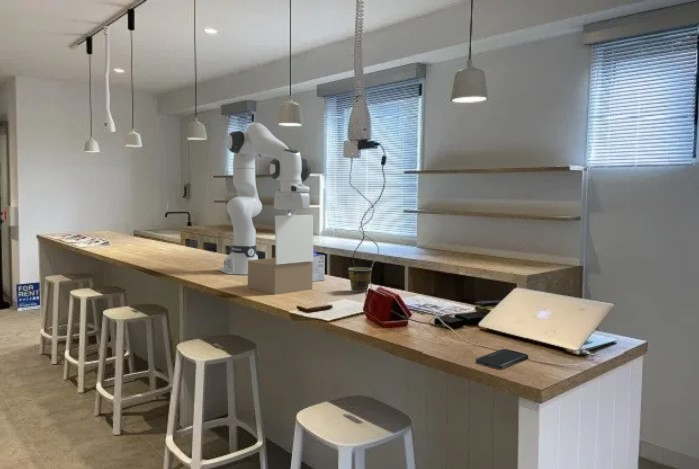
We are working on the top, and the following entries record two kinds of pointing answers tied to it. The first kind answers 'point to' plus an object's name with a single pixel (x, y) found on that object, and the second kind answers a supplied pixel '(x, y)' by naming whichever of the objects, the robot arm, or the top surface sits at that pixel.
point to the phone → (502, 358)
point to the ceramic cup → (359, 279)
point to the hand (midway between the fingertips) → (291, 220)
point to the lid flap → (293, 238)
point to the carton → (279, 276)
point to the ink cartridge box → (318, 267)
